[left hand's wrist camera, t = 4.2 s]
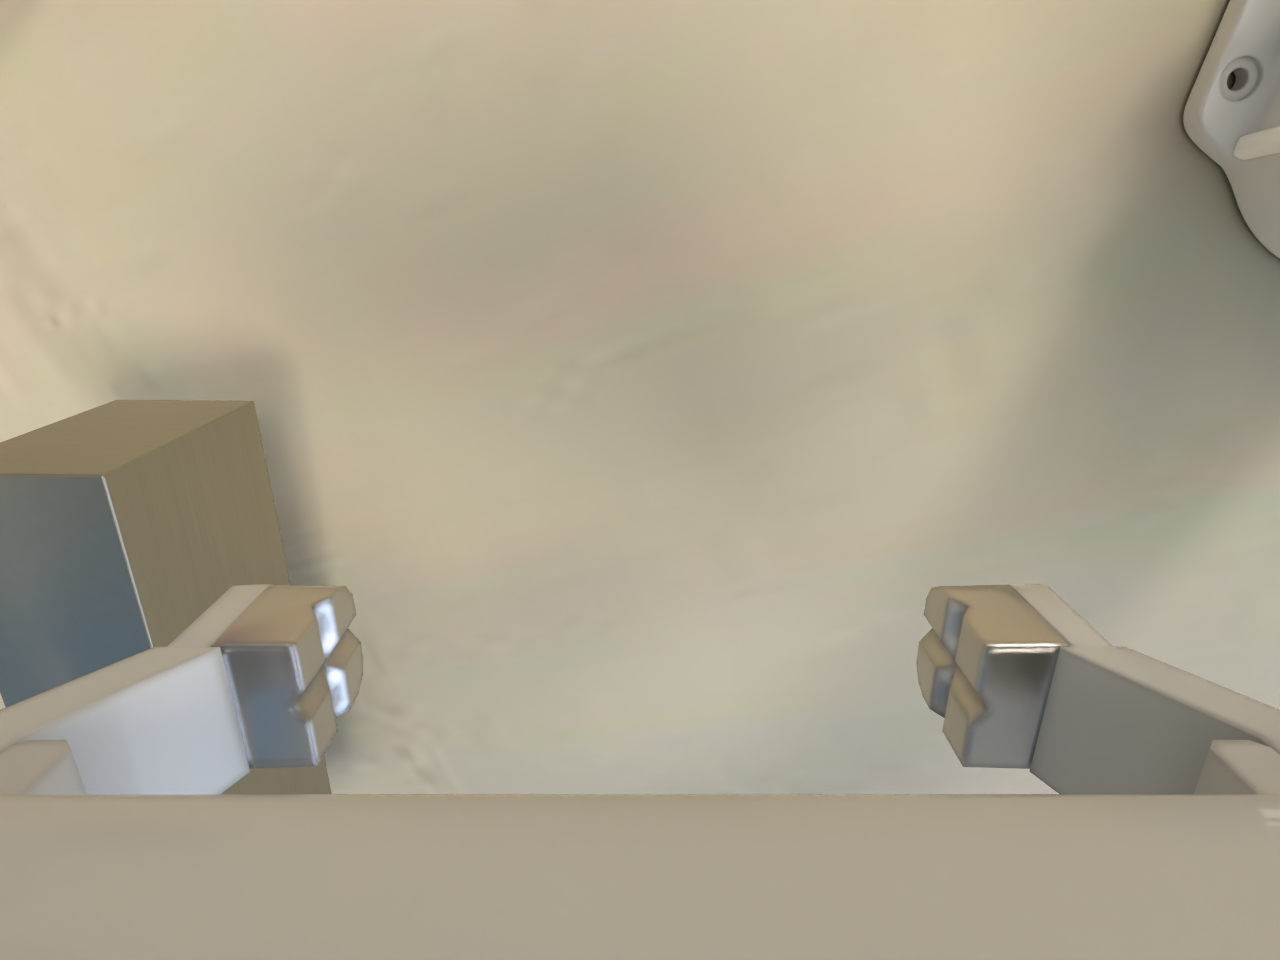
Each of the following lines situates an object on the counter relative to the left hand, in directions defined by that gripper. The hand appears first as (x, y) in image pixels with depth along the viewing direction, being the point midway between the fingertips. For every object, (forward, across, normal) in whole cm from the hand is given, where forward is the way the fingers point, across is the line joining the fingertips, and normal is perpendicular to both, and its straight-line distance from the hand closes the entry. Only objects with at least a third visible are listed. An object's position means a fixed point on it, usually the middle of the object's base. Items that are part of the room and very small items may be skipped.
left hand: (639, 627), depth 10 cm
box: (+20, -19, -14) cm, 31 cm away
